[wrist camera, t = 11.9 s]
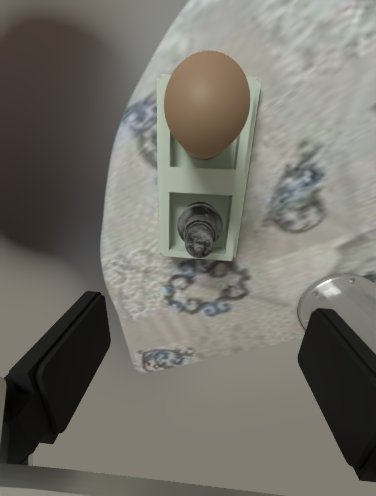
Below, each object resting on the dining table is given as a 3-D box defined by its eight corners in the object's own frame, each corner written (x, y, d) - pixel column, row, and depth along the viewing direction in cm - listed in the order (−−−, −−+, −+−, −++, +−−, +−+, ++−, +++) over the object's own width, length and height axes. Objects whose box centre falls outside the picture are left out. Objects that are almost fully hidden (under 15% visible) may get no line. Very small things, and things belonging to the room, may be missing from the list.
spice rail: (234, 255, 32) (254, 307, 20) (159, 249, 32) (134, 297, 20) (258, 84, 24) (316, -3, 12) (158, 81, 24) (115, -5, 12)
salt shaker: (195, 246, 31) (191, 290, 20) (171, 215, 29) (153, 244, 18) (228, 225, 29) (244, 259, 18) (205, 191, 28) (207, 205, 17)
